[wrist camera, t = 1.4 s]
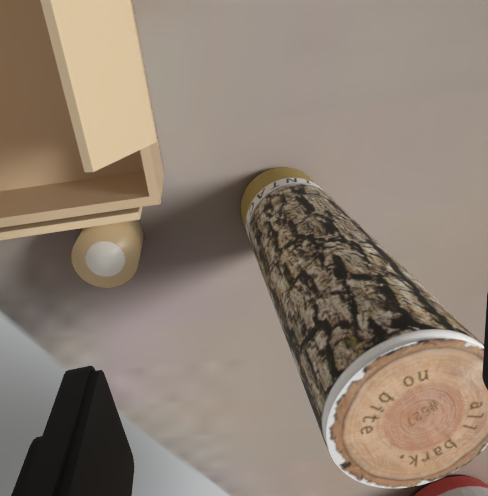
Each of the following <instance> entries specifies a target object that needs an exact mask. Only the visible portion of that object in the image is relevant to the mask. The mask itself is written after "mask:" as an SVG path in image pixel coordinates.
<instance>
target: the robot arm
mask: <svg viewBox="0 0 488 496" xmlns="http://www.w3.org/2000/svg"><path fill="white" fill-rule="evenodd" d="M482 377H483V382H484V384H485V387H486V388H487V390H488V294H487V309H486V325H485V341H484V357H483V373H482ZM133 461H134V460H133V455H132V452H131V449H130V446H129V443H128V440H127V437H126V435H125V432H124V429H123V426H122V423H121V421H120V417H119V415H118V412H117V409H116V406H115V403H114V400H113V397H112V395H111V392H110V389H109V386H108V383H107V380H106V377H105V375H104V372H103V371H102V370H99V371H95V369H94V367H93V366H87V367H82V368H77V369H73V370H68V371H66V372H65V374H64V377H63V380H62V382H61V385H60V388H59V391H58V394H57V396H56V399H55V402H54V405H53V408H52V411H51V413H50V416H49V419H48V422H47V425H46V427H45V430H44V433H43V436H41V437H37V438H35V439H34V440H33V442H32V444H31V445H30V448H29V450H28V453H27V456H26V458H25V461H24V464H23V466H22V469H21V472H20V474H19V477H18V479H17V482H16V485H15V487H14V490H13V493H12V495H11V496H131V495H132V484H133V474H134V462H133Z"/></svg>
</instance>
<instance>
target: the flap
mask: <svg viewBox="0 0 488 496" xmlns="http://www.w3.org/2000/svg"><path fill="white" fill-rule="evenodd" d="M40 1H41V5H42V9H43V13H44V17H45V20H46V24H47V28H48V32H49V36H50V40H51V44H52V48H53V52H54V55H55V59H56V63H57V67H58V71H59V75H60V79H61V83H62V87H63V90H64V94H65V98H66V102H67V106H68V110H69V114H70V118H71V121H72V125H73V129H74V133H75V137H76V141H77V145H78V149H79V153H80V156H81V160H82V164H83V168H84V172H95V171H97V170H99V169H101V168H103V167H105V166H107V165H109V164H111V163H114V162H116V161H118V160H120V159H122V158H124V157H126V156H128V155H130V154H132V153H135V152H137V151H139V150H141V149H143V148H145V147H147V146H149V145H151V144H153V143H156V142H157V140H156V134H155V129H154V124H153V118H152V113H151V108H150V102H149V97H148V92H147V86H146V81H145V76H144V70H143V65H142V60H141V54H140V49H139V44H138V38H137V33H136V28H135V22H134V17H133V12H132V6H131V1H130V0H40Z"/></svg>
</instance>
